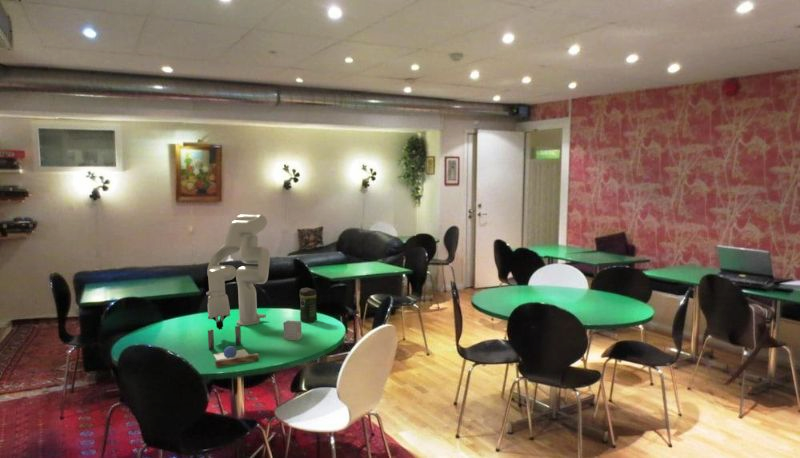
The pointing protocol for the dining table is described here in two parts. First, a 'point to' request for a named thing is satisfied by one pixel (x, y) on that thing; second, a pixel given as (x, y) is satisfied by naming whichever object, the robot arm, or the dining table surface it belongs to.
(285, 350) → the dining table surface
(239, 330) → the post
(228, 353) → the ball
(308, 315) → the coffee jar
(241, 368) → the dining table surface
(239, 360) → the stopper wall
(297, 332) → the medicine box
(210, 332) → the post
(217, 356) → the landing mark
